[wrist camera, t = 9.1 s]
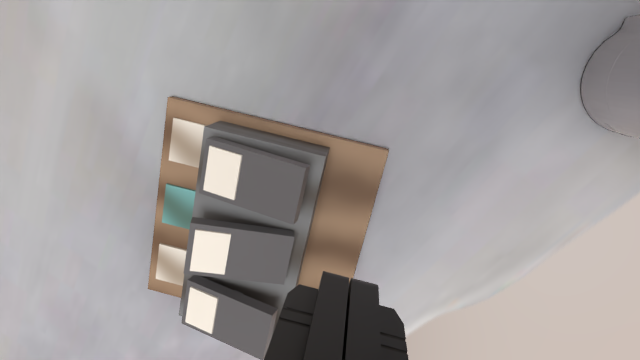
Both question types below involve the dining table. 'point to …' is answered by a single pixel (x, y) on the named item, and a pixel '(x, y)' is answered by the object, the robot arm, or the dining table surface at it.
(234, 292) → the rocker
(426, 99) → the dining table surface
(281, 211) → the rocker
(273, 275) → the block
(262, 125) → the switch panel
